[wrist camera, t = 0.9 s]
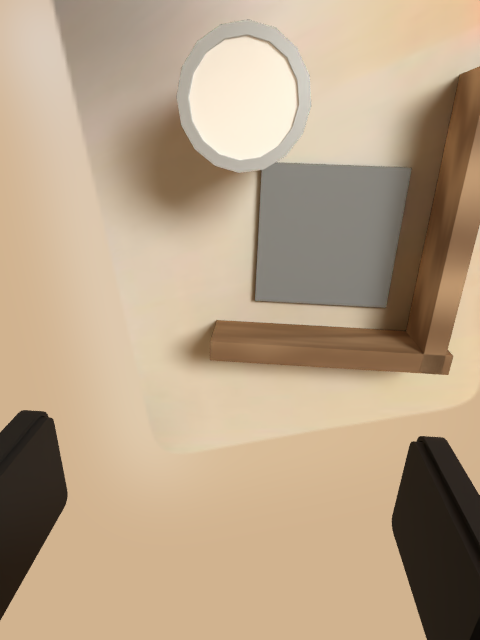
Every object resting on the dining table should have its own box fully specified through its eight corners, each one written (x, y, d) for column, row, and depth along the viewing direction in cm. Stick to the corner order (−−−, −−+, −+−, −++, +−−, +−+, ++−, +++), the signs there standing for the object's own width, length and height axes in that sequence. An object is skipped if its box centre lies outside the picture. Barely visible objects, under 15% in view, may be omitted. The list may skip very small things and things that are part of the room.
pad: (262, 162, 28) (262, 162, 28) (409, 167, 28) (411, 167, 27) (255, 298, 32) (255, 300, 31) (384, 306, 31) (386, 307, 31)
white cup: (196, 164, 28) (175, 168, 22) (199, 48, 26) (176, 14, 19) (295, 171, 28) (302, 177, 22) (308, 55, 25) (321, 22, 19)
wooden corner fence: (220, 68, 26) (211, 54, 22) (492, 75, 25) (530, 62, 22) (216, 337, 33) (210, 360, 30) (428, 349, 32) (448, 374, 29)
